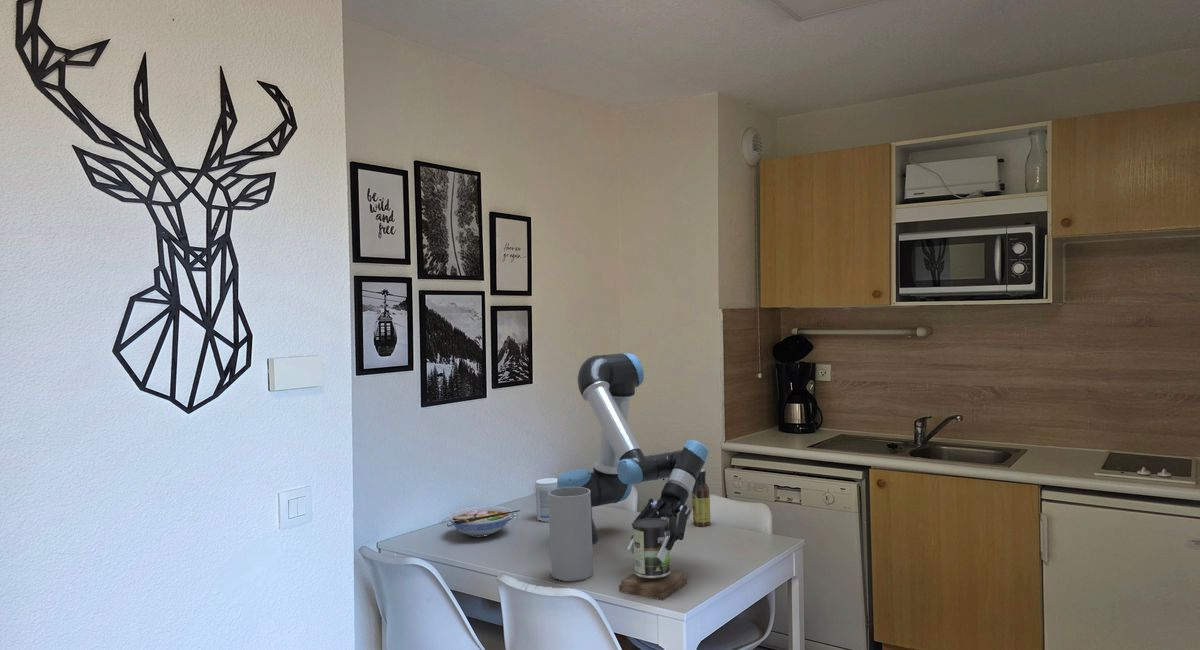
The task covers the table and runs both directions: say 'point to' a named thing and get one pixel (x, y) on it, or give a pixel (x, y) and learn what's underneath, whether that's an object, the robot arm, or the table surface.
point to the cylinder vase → (570, 533)
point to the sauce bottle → (701, 501)
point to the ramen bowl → (480, 519)
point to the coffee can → (650, 547)
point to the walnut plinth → (653, 585)
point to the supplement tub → (544, 497)
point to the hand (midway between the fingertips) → (645, 555)
